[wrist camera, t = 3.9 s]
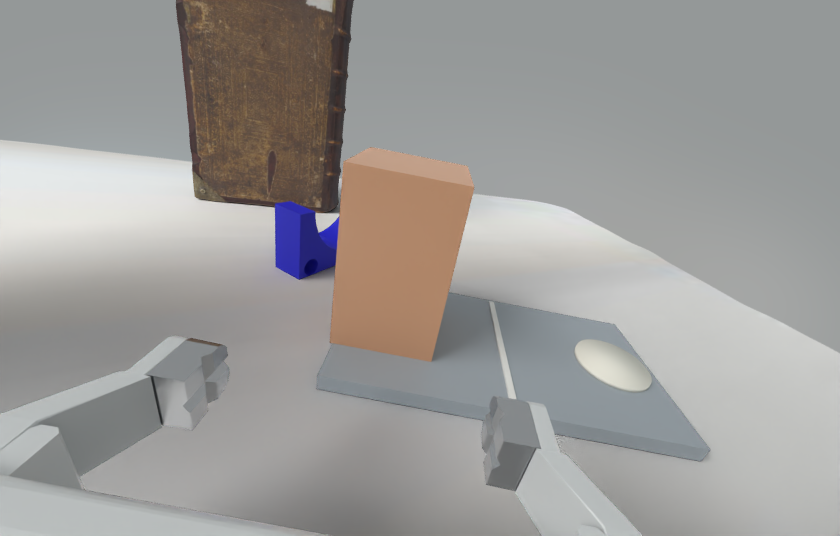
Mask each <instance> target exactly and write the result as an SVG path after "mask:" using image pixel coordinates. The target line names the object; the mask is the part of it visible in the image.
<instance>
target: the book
mask: <svg viewBox="0 0 840 536" xmlns="http://www.w3.org/2000/svg"><path fill="white" fill-rule="evenodd" d="M353 1H354V0H176V10H177V20H178V26H179V33H180V41H181V51H182V61H183V72H184V81H185V90H186V99H187V111H188V121H189V132H190V133H189V137H190V148H191V153H192V161H193V162H192V171H193V183H194V193H195V197H196V198H199V199H204V200H211V201H219V202H235V203H247V204H256V205H267V206H275V204H276V203H282V202H288V201H291V202H294V203H296V204H298V205H301V206H303V207H305V208H308V209H310V210H312V211H315V212H318V213H323V212H326V211H328V212H329V211H330V210H332V209H334V208H335V207H336V206H337V205H338V203H339V201H338V183H339V175H340V172H341V169H340V158H341V147H342V144H343V139H342V133H343V121H344V113H345V111H346V109H345V94H346V80H347V78H348V74H347V66H348V52H349V43H350V41H351V35H350V27H351V14H352V7H353Z"/></svg>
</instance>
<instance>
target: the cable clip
mask: <svg viewBox="0 0 840 536" xmlns="http://www.w3.org/2000/svg"><path fill="white" fill-rule="evenodd" d="M338 228H339V217H338V218H337V220H336V221H335V222H334V223H333V224H332V225H331V226H330V227H328V228H327V229H325V230H324V231H322V232H319V233H318V230H317V226H316V219H315V211H312V210H310V209H308V208H305V207H303V206H301V205H298V204H296V203H294V202H291V201H288V202H282V203H276V204H275V244H276V267H277V268H279V269H281V270H282V271H284V272H286V273H288V274H290V275H292V276H293V277H295V278H297V279H302V278H304V277H307V276H310V275H312V274H315V273H317V272H320V271H322V270H325V269H327V268H330V267H333V266H335V265H336V254H337V241H338Z"/></svg>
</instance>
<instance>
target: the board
mask: <svg viewBox="0 0 840 536" xmlns="http://www.w3.org/2000/svg"><path fill="white" fill-rule="evenodd" d="M317 389H320V390H326V391H331V392H336V393H341V394H347V395H352V396H357V397H363V398H368V399H373V400H379V401H384V402H389V403H394V404H400V405H405V406H410V407H416V408H421V409H426V410H432V411H437V412H442V413H447V414H453V415H458V416H463V417H469V418H474V419H479V420H484V418H485V415H486V414H488V413H490V407H489V404H490V401H491V399H492V397H493V396H500V397H505V398H511V399H516V400H522V401H528V402H534V403H540V404H544V406H545V407H546V409H547V412H548V415H549V418H550V421H551V424H552V427H553V430H554V433H555V434H559V435H564V436H569V437H574V438H580V439H585V440H590V441H596V442H601V443H606V444H612V445H617V446H622V447H627V448H633V449H638V450H643V451H649V452H654V453H659V454H665V455H670V456H675V457H680V458H686V459H691V460H696V461H702V459H703V458H704V457H705V456H706V455H707V453H708V452H709V451H710V448H709V447H708V446H707V445H706V443H705V442H704V441H703V439H702V438H701V437H700V435H699V434H698V433H697V431H696V430H695V429H694V428H693V426H692V425H691V424H690V422H689V421H688V420H687V418H686V417H685V416H684V414H683V413H682V412H681V411H680V409H679V408H678V407H677V405H676V404H675V403H674V401H673V400H672V399H671V397H670V396H669V395H668V393H667V392H666V391H665V390H664V388H663V387H662V386H661V384H660V383H659V382H658V380H657V379H656V378H655V376H654V375H653V374H652V373H651V371H650V370H649V369H648V367H647V366H646V365H645V363H644V362H643V361H642V359H641V358H640V357H639V356H638V354H637V353H636V352H635V350H634V349H633V348H632V346H631V345H630V344H629V342H628V341H627V340H626V338H625V337H624V336H623V335H622V333H621V332H620V331H619V329H618V328H617V327H616V325H615V324H610V323H604V322H599V321H594V320H589V319H584V318H578V317H573V316H568V315H563V314H558V313H552V312H547V311H542V310H537V309H532V308H526V307H521V306H516V305H511V304H506V303H500V302H495V301H490V300H485V299H480V298H474V297H469V296H464V295H459V294H454V293H448V296H447V300H446V304H445V308H444V312H443V316H442V320H441V325H440V329H439V333H438V337H437V341H436V345H435V349H434V353H433V357H432V361H431V362H429V361H424V360H418V359H413V358H408V357H402V356H397V355H392V354H387V353H381V352H376V351H371V350H366V349H360V348H355V347H350V346H345V345H339V344H334V343H333V344H332V346H331V348H330V350H329V352H328V354H327V356H326V358H325V361H324V363H323V365H322V367H321V369H320V371H319V373H318V375H317Z"/></svg>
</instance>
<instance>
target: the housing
mask: <svg viewBox="0 0 840 536" xmlns="http://www.w3.org/2000/svg"><path fill="white" fill-rule="evenodd" d="M473 190H474V184H473V181H472V178H471V175H470V172H469V169H468V166H465V165H460V164H455V163H450V162H445V161H439V160H434V159H429V158H424V157H419V156H413V155H409V154H404V153H399V152H393V151H388V150H383V149H378V148H373V147H370V148H368V149H366V150H364V151H362V152H360V153H359V154H357V155H355V156H353V157H351V158H349V159H347V160H345V161H344V163H343V176H342V189H341V202H340V215H339V228H338V241H337V254H336V267H335V280H334V293H333V306H332V319H331V332H330V343H334V344H339V345H345V346H350V347H355V348H360V349H366V350H371V351H376V352H381V353H387V354H392V355H397V356H402V357H408V358H413V359H418V360H424V361H429V362H431V361H432V357H433V353H434V349H435V345H436V341H437V337H438V333H439V329H440V325H441V320H442V316H443V312H444V308H445V304H446V300H447V296H448V292H449V288H450V284H451V280H452V276H453V272H454V268H455V264H456V260H457V256H458V252H459V248H460V243H461V239H462V235H463V231H464V227H465V223H466V219H467V215H468V211H469V207H470V203H471V199H472V195H473Z"/></svg>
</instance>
